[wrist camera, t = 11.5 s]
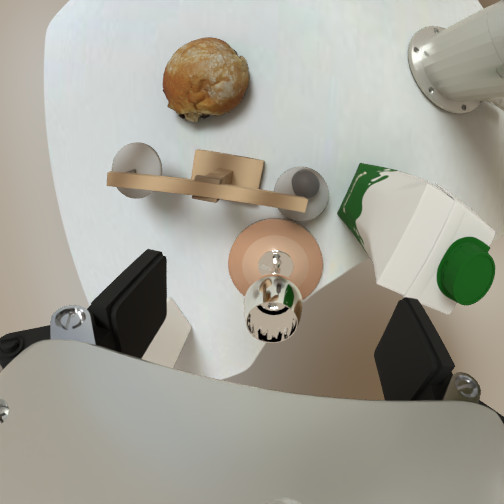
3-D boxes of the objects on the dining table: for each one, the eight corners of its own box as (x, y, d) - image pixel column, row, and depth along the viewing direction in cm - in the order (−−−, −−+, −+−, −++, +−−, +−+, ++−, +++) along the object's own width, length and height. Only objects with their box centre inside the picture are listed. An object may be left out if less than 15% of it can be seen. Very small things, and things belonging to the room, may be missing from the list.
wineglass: (307, 260, 35) (317, 316, 24) (281, 293, 38) (280, 355, 27) (268, 236, 35) (261, 284, 24) (244, 271, 37) (228, 328, 26)
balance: (329, 171, 32) (355, 189, 21) (317, 218, 35) (334, 259, 23) (142, 138, 33) (83, 144, 21) (138, 183, 35) (81, 206, 24)
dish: (332, 230, 35) (334, 233, 34) (307, 309, 40) (308, 314, 38) (238, 209, 35) (236, 211, 34) (223, 292, 40) (222, 296, 39)
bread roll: (259, 94, 33) (277, 63, 25) (201, 143, 32) (204, 118, 24) (206, 49, 31) (212, 13, 23) (147, 94, 30) (138, 61, 22)
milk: (171, 296, 41) (100, 409, 21) (192, 327, 43) (141, 445, 23) (142, 308, 43) (70, 411, 22) (163, 336, 44) (107, 444, 24)
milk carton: (385, 244, 35) (459, 338, 16) (326, 216, 34) (370, 305, 16) (414, 184, 31) (519, 237, 13) (355, 152, 31) (440, 172, 13)
